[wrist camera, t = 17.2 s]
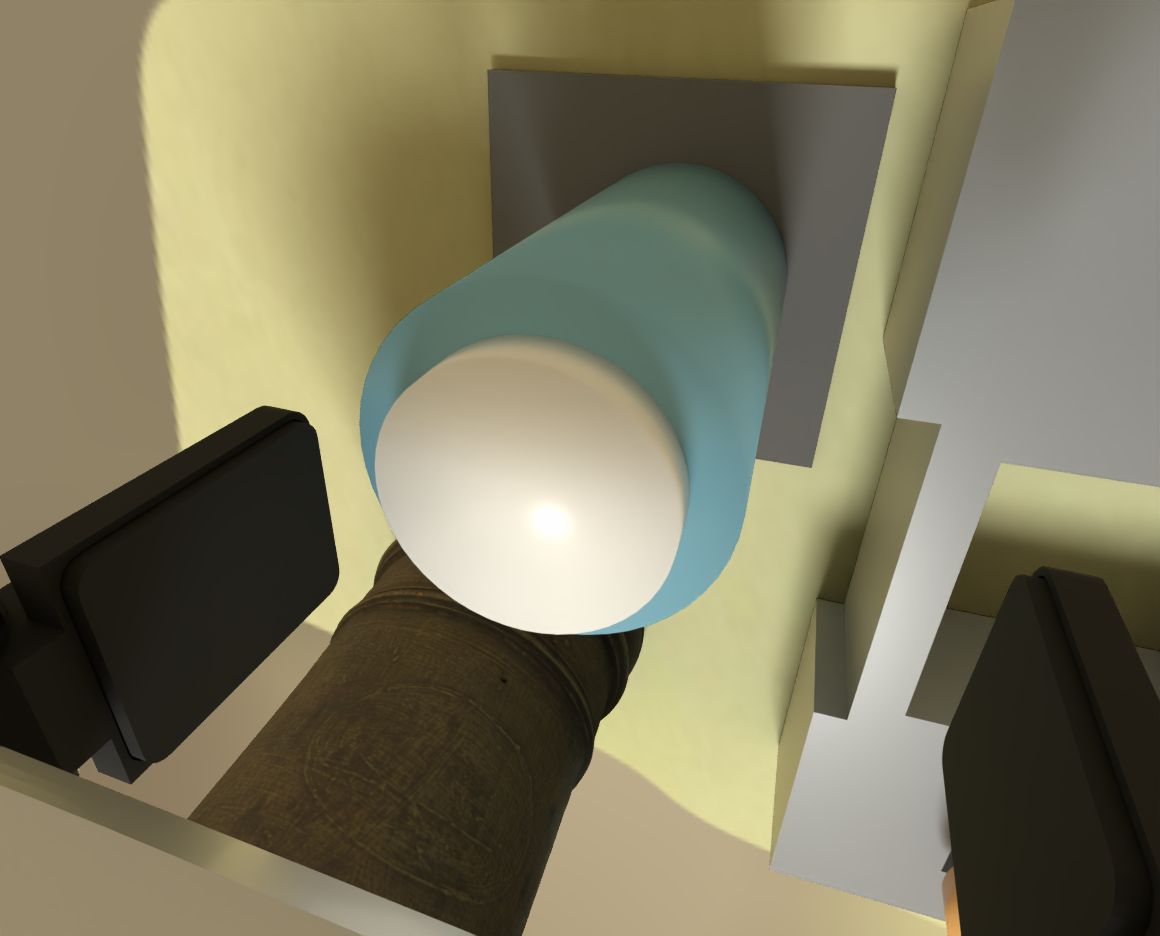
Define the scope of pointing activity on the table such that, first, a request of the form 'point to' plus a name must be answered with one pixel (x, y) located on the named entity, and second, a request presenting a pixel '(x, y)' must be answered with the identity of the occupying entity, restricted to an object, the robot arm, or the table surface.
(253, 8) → the table surface
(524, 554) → the cartridge
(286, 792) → the container
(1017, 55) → the housing
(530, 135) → the mat
